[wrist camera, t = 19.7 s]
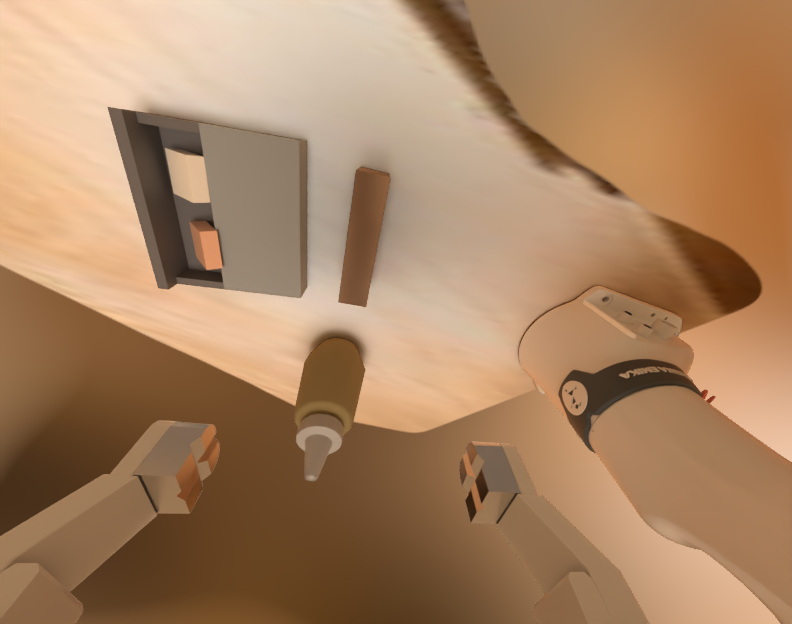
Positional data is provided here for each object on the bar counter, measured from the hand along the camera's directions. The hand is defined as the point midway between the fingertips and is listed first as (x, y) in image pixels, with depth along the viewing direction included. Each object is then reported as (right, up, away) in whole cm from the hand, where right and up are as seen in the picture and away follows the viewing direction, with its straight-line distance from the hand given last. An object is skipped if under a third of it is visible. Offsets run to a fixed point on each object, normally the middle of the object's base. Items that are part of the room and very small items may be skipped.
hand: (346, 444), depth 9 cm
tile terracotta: (-18, +12, +21) cm, 30 cm away
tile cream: (-18, +18, +18) cm, 31 cm away
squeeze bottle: (-7, -2, +32) cm, 33 cm away
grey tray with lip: (-15, +15, +22) cm, 31 cm away
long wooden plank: (-2, +14, +24) cm, 27 cm away
